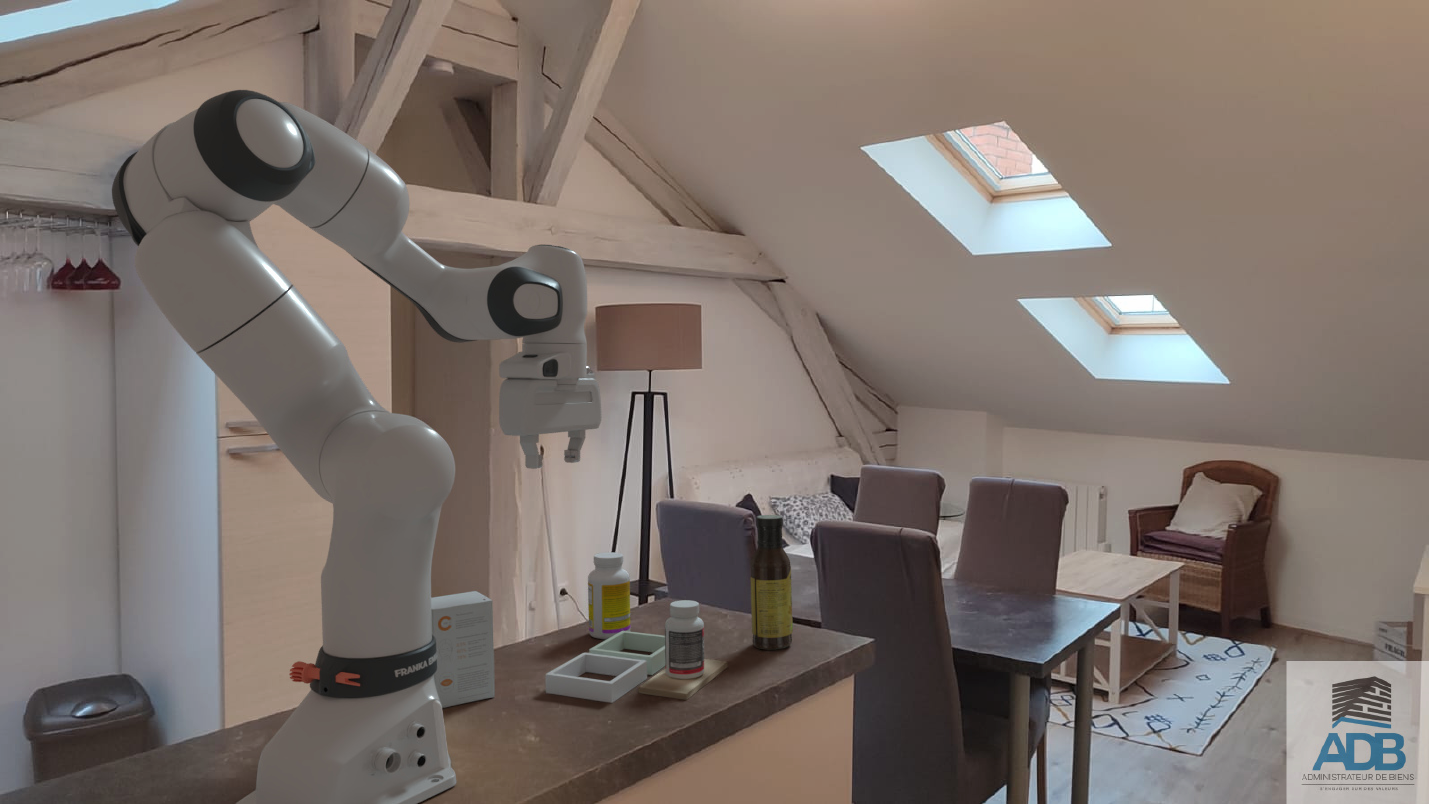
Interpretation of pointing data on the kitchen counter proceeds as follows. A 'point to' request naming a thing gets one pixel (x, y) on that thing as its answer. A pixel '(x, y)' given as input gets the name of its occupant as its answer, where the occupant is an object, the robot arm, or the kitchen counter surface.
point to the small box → (463, 647)
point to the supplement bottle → (608, 596)
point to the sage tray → (635, 648)
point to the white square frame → (607, 691)
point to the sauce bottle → (771, 587)
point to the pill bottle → (684, 641)
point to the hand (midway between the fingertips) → (553, 465)
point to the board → (682, 682)
